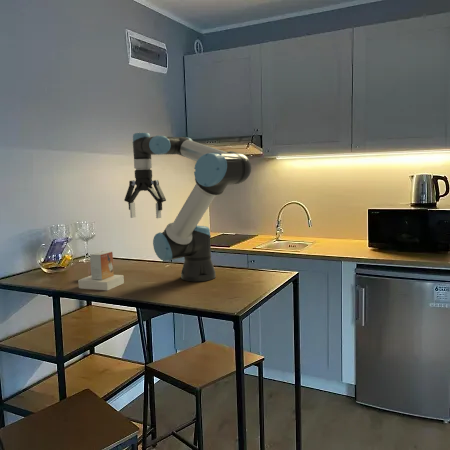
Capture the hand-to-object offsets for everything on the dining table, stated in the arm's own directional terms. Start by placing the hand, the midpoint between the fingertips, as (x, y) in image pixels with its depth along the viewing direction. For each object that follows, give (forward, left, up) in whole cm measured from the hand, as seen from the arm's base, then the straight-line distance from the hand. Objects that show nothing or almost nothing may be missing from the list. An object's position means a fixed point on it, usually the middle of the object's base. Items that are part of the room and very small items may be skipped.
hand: (145, 217), depth 200 cm
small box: (+10, +19, -24) cm, 32 cm away
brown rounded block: (+21, +10, -27) cm, 35 cm away
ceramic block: (+11, +19, -27) cm, 35 cm away
